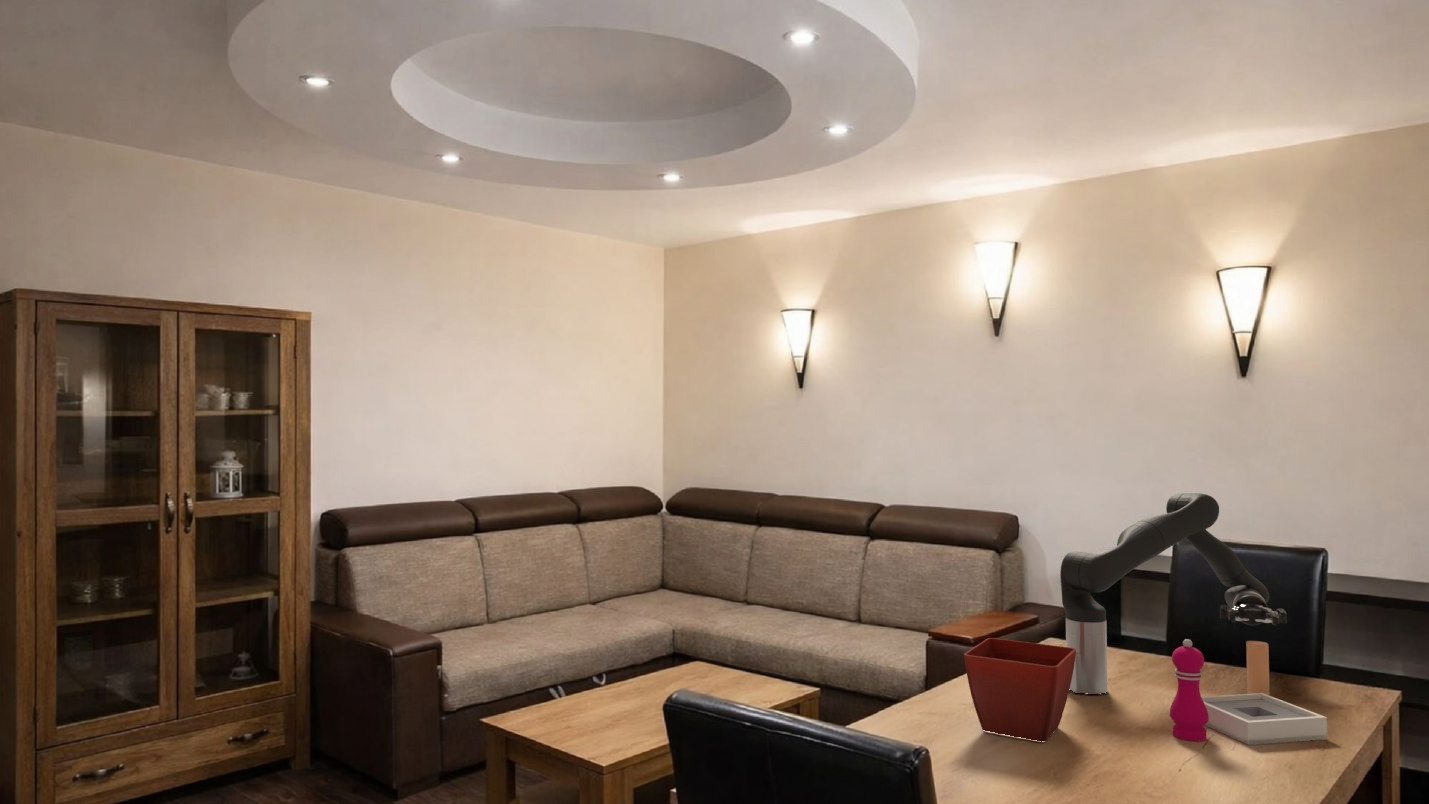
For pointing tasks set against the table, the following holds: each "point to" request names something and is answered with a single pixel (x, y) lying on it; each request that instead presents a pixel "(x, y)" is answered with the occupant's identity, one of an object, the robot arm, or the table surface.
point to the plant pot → (1019, 686)
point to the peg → (1257, 667)
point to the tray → (1265, 726)
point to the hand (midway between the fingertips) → (1254, 619)
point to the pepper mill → (1188, 694)
